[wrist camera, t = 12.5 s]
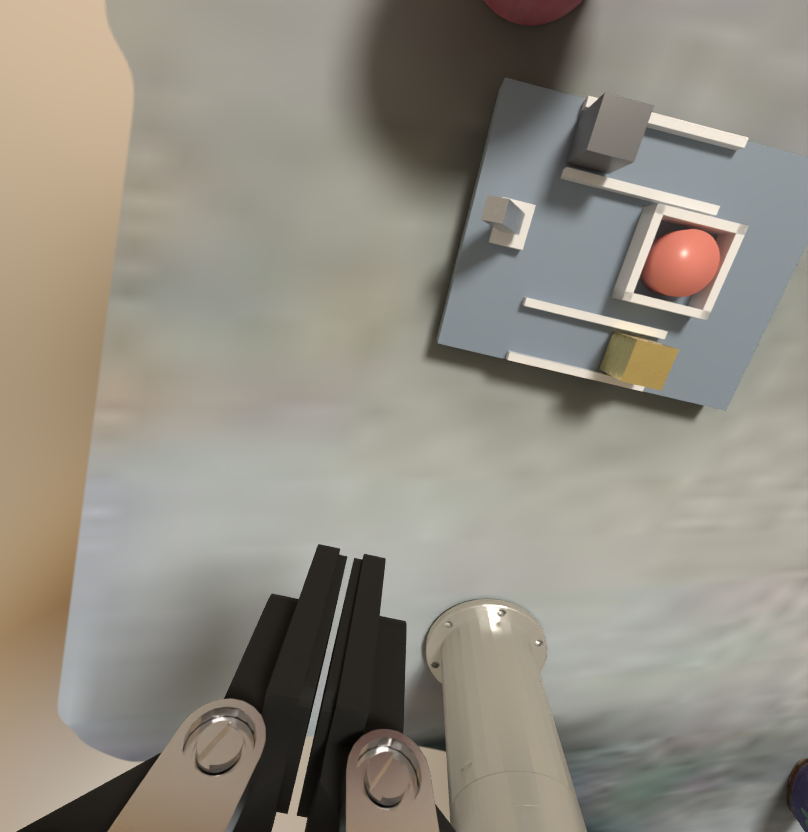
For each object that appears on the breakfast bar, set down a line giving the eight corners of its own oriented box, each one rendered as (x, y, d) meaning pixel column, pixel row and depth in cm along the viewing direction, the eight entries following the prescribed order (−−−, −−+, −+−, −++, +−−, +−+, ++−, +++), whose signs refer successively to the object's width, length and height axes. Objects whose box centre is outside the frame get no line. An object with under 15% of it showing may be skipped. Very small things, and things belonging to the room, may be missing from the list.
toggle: (519, 235, 31) (502, 223, 27) (499, 231, 32) (481, 219, 28) (525, 213, 31) (509, 198, 27) (505, 210, 31) (487, 195, 27)
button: (686, 301, 34) (702, 303, 32) (630, 287, 33) (643, 288, 32) (712, 239, 32) (731, 237, 30) (654, 224, 32) (668, 222, 30)
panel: (707, 401, 39) (742, 418, 35) (436, 338, 38) (438, 347, 34) (814, 173, 33) (872, 160, 29) (498, 90, 32) (510, 64, 28)
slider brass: (635, 377, 36) (661, 390, 32) (599, 368, 35) (620, 381, 32) (650, 340, 35) (679, 349, 31) (613, 331, 34) (637, 339, 31)
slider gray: (607, 174, 31) (634, 162, 27) (566, 163, 31) (586, 149, 27) (624, 125, 30) (654, 105, 26) (581, 113, 30) (604, 92, 26)
